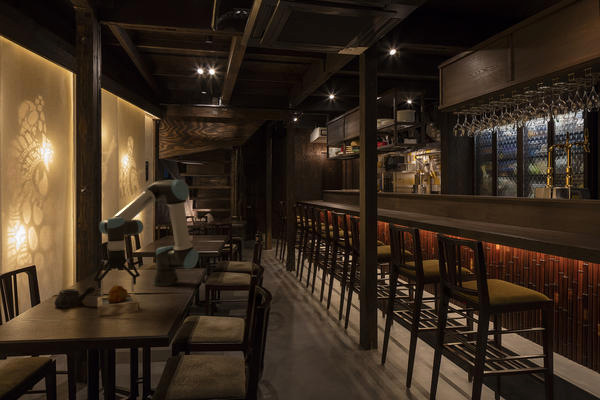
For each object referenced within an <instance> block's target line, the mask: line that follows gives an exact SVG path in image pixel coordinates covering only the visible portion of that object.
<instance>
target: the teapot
mask: <svg viewBox="0 0 600 400" xmlns="http://www.w3.org/2000/svg"><path fill="white" fill-rule="evenodd" d="M95 290H96V288H95V286H94V285H92V284H91V285H89V286H87V287H86V289H85V290H84V292H83V293H80V292H79V289H78V288H66V289H61V290H59V293H58V295H57V297H56V298H55V301H54V307H58V308H64V309H65V308H67V309H68V308H72V307H77V306H79V305H81V304H83V302H84V300H85V298H87V296H90V295H91V294H93V293H94V292H95Z"/></svg>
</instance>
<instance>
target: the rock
mask: <svg viewBox="0 0 600 400" xmlns="http://www.w3.org/2000/svg"><path fill="white" fill-rule="evenodd" d="M128 294H129V292H128V289H126V288H124V286H122V285H113V286H112V287H111V288H110V290H109V291H108V295H107V297H108V302H109V303H115V302H120V301H122V300H123V301H125V300H126V297H127V295H128Z"/></svg>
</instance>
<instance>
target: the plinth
mask: <svg viewBox="0 0 600 400" xmlns="http://www.w3.org/2000/svg"><path fill="white" fill-rule="evenodd" d="M138 311H139V301H138V299H137V297H136V294H135V293H128V295H127V297H126V300H125V301H123V300H122V301H120V302H115V303H109V302H108V296H98V297H97V316H98V317H100V316H107V315H115V314H125V313H131V312H138Z"/></svg>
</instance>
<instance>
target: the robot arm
mask: <svg viewBox="0 0 600 400" xmlns="http://www.w3.org/2000/svg"><path fill="white" fill-rule="evenodd" d="M189 194H190V189H189V185H188V184H187V183H186V182H185V181H184V180H181V179H159V180H156V181H154V182H152V183H150V184H148V185H147V186H146V187H145V188H143V189H142V190H141V191H140V194H138V196H136V197H135V198H134V199H133V200H132V201H130V202H129V203H128V204H127V205H125V206H124V207H123V208H122V209H121V210H119V211H118V212H117V213H115V214H114V215H113V216H112V217H109V218H108V219H107V218H105V219H102V220H101V221H100V222H99V225H98V229H99V231H100V233H101V234H103V235H107V249H108V251H107V255H108V256H107V257H108V258H107V260H104V259H102V260H101V261H100V265H99V267H98V270H97V271H96V273H95V275H94V278H93V281H94V282H95V281H96V282H97V284H98V285H97V287H98V289H100V295H101V296H103V295H104V286H103V284H104V283H103V282H104V281H103V279H104V278H105V277H106V275H107V274H108V273H109V272H110V271H112V270H117V269H124V271H125V272H127V273H128V274H129V276H131V277H130V278H131V281H130V282H131V284H130V285H131V292H132V293H134V292H135V291H134V290H135V287H134V286H135V285H136V284H137V278H138V277H140V276H141V275H140V272H139V271H138V270H137V267H136V266H135V265H134V263H133V258H132V257H129V258H126V250H125V248H126V239H125V237H126V236H135V235H139V234H142V232H143V230H144V223H143V221H142V220H140V219H134V218H135V217H137V216H138V215H139V214H140V213H141V212H142V211H144V210H145V209H146V208H147V207H149V205H153V204H155V202H157V201H163V200H164V202H165V205H166V206H167V207H168V209H169V214H170V221H171V226H172V233H173V239H174V245H170V246H162V247H157V249H156V250H155V251H156V253H155V265H156V266H155V270H156V271H155V272H156V273H155V275H154V279H153V286H155V287H172V286H176V285H179V284H180V278H179V275H178V272H177V268H178V269H185V270H186V269H193V268H195V266H197V263H198V261H199V254H200V253H199V250H198V249H196V248H194V244H192V242H190V241H191V239H190V235H189V228H188V227H189V226H188V221H187V216H186V213H187V212H186V207H185V203H186V202H187V199H188V198H189ZM126 263H128V264H130V266H131V268H132V269H133V272H132V271H131V270H130V268H128V266H127V265H125V264H126ZM106 264H107V265H108V266H107V268H106V269H105V270H104V271H103V272H102V270H103V268H104V266H106ZM101 272H102V273H101ZM134 273H135V274H134ZM100 274H101V275H100ZM99 275H100V276H99Z"/></svg>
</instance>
